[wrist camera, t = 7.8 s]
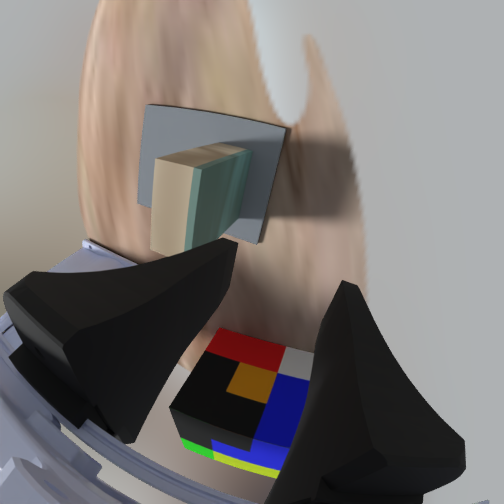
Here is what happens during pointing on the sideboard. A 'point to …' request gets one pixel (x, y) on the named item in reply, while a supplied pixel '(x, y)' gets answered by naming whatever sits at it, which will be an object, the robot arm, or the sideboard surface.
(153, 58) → the sideboard surface
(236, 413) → the puzzle toy
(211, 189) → the tile
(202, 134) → the mat
